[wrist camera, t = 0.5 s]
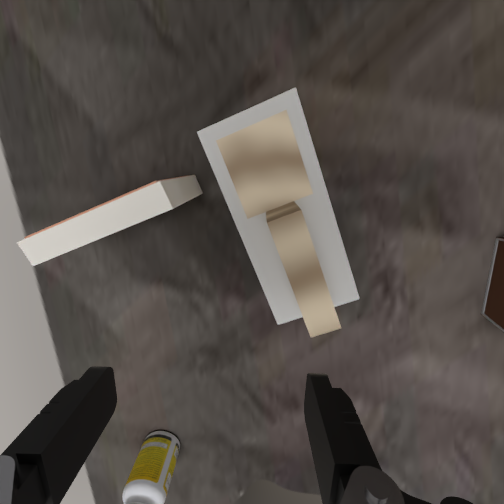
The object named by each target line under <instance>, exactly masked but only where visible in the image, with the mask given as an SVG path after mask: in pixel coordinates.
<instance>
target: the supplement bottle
mask: <svg viewBox="0 0 504 504" xmlns="http://www.w3.org/2000/svg"><path fill="white" fill-rule="evenodd" d="M179 450H180V442H179V440H178V439H177V438H176V437H175V436H174V435H173V434H171V433H169V432H166V431H155V432H152V433H150V434H149V435H148V436H147V437H146V438H145V440H144V442H143V445H142V447H141V450H140V452H139V454H138V457H137V459H136V461H135V464H134V466H133V469H132V471H131V473H130V476H129V478H128V481H127V483H126V485H125V488H124V491H123V497H122V498H123V502H124V504H164V502H165V499H166V496H167V492H168V489H169V485H170V482H171V478H172V475H173V471H174V468H175V464H176V461H177V457H178V453H179Z"/></svg>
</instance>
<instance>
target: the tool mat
mask: <svg viewBox="0 0 504 504" xmlns="http://www.w3.org/2000/svg"><path fill="white" fill-rule="evenodd" d="M285 110H287V113H288V116H289V119H290V123H291V126H292V129H293V132H294V135H295V138H296V141H297V144H298V148H299V151H300V154H301V157H302V160H303V163H304V166H305V170H306V173H307V176H308V179H309V182H310V185H311V188H312V192H313V194H311V195H308V196H306V197H303V198H301V199H298V200H295V201H294V202H295V203H296V204H297V205H298V206H299V208H300V209H301V210H302V213H303V216H304V219H305V222H306V225H307V228H308V231H309V234H310V237H311V240H312V243H313V246H314V249H315V251H316V254H317V257H318V260H319V263H320V266H321V269H322V272H323V275H324V278H325V281H326V284H327V287H328V290H329V293H330V296H331V299H332V302H333V305H334V307H336V306H339V305H342V304H346V303H349V302H352V301H355V300H358V299H360V298H359V295H358V292H357V288H356V285H355V282H354V278H353V275H352V272H351V268H350V265H349V262H348V259H347V255H346V252H345V249H344V245H343V242H342V239H341V235H340V232H339V229H338V225H337V222H336V219H335V215H334V212H333V209H332V206H331V202H330V199H329V196H328V192H327V189H326V186H325V182H324V179H323V176H322V172H321V169H320V166H319V162H318V159H317V156H316V153H315V149H314V146H313V143H312V139H311V136H310V133H309V129H308V126H307V123H306V119H305V116H304V113H303V109H302V106H301V103H300V100H299V96H298V93H297V90H296V87H295V88H293V89H291V90H289V91H287V92H284V93H282V94H280V95H278V96H275V97H273V98H271V99H269V100H267V101H264V102H262V103H260V104H258V105H255V106H253V107H251V108H249V109H247V110H244V111H242V112H240V113H238V114H235V115H233V116H231V117H229V118H227V119H224V120H222V121H220V122H218V123H215V124H213V125H211V126H209V127H207V128H204V129H202V130H200V131H198V132H197V134H198V136H199V138H200V141H201V143H202V146H203V148H204V150H205V153H206V155H207V157H208V160H209V162H210V165H211V167H212V169H213V172H214V174H215V176H216V179H217V181H218V184H219V186H220V188H221V191H222V193H223V195H224V198H225V200H226V203H227V205H228V207H229V210H230V212H231V215H232V217H233V219H234V222H235V224H236V226H237V229H238V231H239V234H240V236H241V238H242V241H243V243H244V245H245V248H246V250H247V253H248V255H249V257H250V260H251V262H252V264H253V267H254V269H255V272H256V274H257V276H258V279H259V281H260V284H261V286H262V288H263V291H264V293H265V295H266V298H267V300H268V303H269V305H270V307H271V310H272V312H273V314H274V317H275V319H276V322H277V324H278V325H279V324H282V323H286V322H289V321H292V320H295V319H298V318H301V317H303V316H302V313H301V311H300V308H299V305H298V303H297V300H296V298H295V295H294V292H293V290H292V287H291V284H290V282H289V279H288V277H287V274H286V271H285V269H284V266H283V264H282V261H281V258H280V256H279V253H278V251H277V248H276V245H275V243H274V240H273V238H272V235H271V232H270V230H269V227H268V224H267V219H266V212H264V213H262V214H259V215H256V216H254V217H251V218H249V219H247V216H246V214H245V211H244V209H243V206H242V204H241V201H240V199H239V197H238V194H237V192H236V189H235V187H234V184H233V182H232V179H231V177H230V174H229V172H228V169H227V167H226V164H225V162H224V159H223V157H222V154H221V152H220V149H219V147H218V145H217V142H216V140H219V139H221V138H223V137H225V136H228V135H230V134H232V133H235V132H237V131H239V130H241V129H244V128H246V127H248V126H250V125H253V124H255V123H257V122H260V121H262V120H264V119H266V118H269V117H271V116H273V115H275V114H278V113H280V112H282V111H285Z"/></svg>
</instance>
